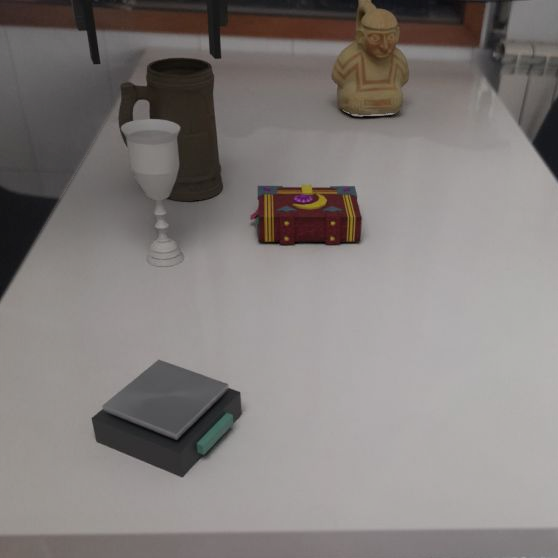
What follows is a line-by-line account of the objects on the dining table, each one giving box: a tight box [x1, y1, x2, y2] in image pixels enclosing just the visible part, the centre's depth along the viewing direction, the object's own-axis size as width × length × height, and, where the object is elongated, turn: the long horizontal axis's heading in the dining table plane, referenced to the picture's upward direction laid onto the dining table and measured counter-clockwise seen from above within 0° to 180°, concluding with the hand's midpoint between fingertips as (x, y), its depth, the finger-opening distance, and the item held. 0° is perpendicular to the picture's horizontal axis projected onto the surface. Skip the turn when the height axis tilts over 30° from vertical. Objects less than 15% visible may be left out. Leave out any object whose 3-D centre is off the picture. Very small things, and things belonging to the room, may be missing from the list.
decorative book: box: [250, 184, 363, 245], centre depth 107 cm, size 11×16×5 cm
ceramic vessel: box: [330, 0, 410, 115], centre depth 151 cm, size 17×20×25 cm
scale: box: [91, 387, 243, 478], centre depth 70 cm, size 11×10×3 cm
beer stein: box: [118, 57, 224, 202], centre depth 112 cm, size 15×11×20 cm
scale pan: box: [101, 359, 230, 440], centre depth 69 cm, size 8×8×1 cm
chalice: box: [121, 118, 185, 268], centre depth 94 cm, size 7×7×18 cm
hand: (157, 59), depth 83 cm, fingers open, 13 cm apart
